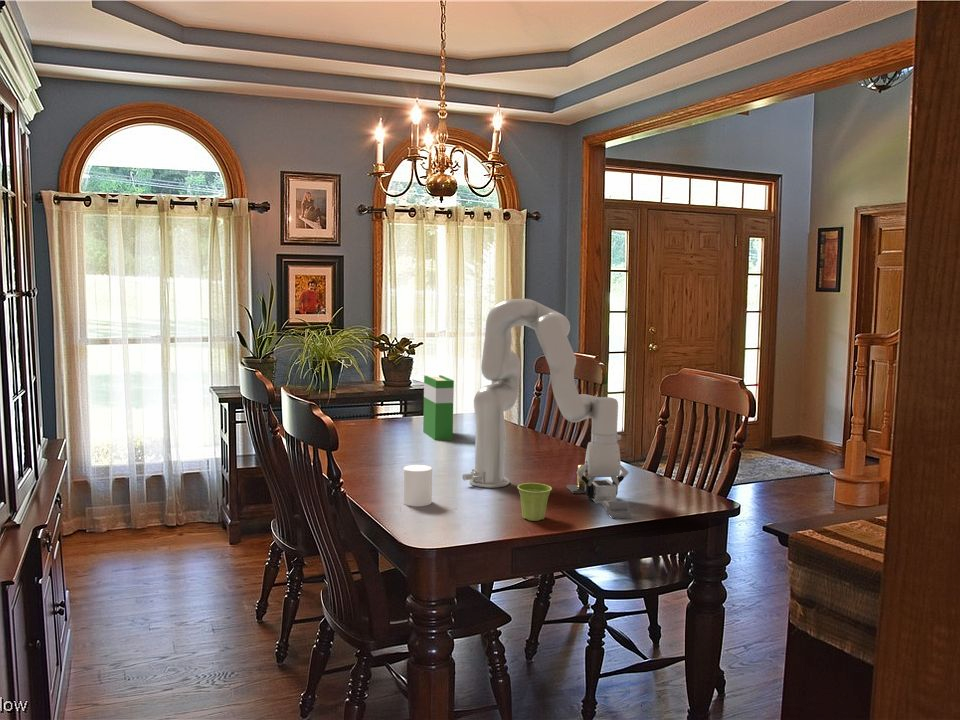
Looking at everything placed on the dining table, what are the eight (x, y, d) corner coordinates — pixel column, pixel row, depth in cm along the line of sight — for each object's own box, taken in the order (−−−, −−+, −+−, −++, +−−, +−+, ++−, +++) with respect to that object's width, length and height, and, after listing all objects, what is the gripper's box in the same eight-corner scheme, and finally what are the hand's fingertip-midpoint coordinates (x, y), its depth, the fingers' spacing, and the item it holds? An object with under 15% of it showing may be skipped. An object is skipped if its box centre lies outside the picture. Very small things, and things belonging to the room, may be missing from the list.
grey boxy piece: (629, 518, 226) (630, 504, 226) (612, 518, 226) (612, 504, 225) (623, 513, 231) (624, 499, 231) (606, 513, 231) (607, 499, 230)
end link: (616, 502, 242) (616, 486, 241) (595, 503, 241) (595, 486, 240) (607, 495, 250) (608, 479, 249) (587, 495, 249) (587, 479, 248)
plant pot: (548, 513, 229) (549, 483, 228) (552, 523, 220) (553, 491, 219) (515, 512, 229) (516, 482, 228) (518, 522, 220) (518, 491, 219)
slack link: (620, 511, 233) (621, 506, 233) (608, 511, 232) (608, 506, 232) (614, 505, 239) (614, 500, 239) (602, 505, 238) (602, 500, 238)
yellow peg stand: (594, 493, 252) (595, 468, 251) (572, 493, 251) (573, 468, 250) (588, 487, 259) (589, 462, 258) (566, 488, 258) (567, 463, 257)
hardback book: (423, 432, 344) (424, 375, 341) (440, 431, 346) (441, 375, 344) (434, 440, 327) (436, 380, 325) (452, 439, 330) (453, 380, 327)
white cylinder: (405, 471, 231) (399, 462, 242) (405, 507, 232) (399, 496, 243) (434, 470, 233) (427, 461, 244) (433, 506, 234) (426, 495, 245)
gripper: (627, 436, 248) (625, 493, 250) (572, 436, 246) (570, 494, 248) (636, 441, 241) (633, 500, 243) (579, 441, 238) (576, 501, 240)
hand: (601, 497), depth 245 cm, fingers open, 6 cm apart
